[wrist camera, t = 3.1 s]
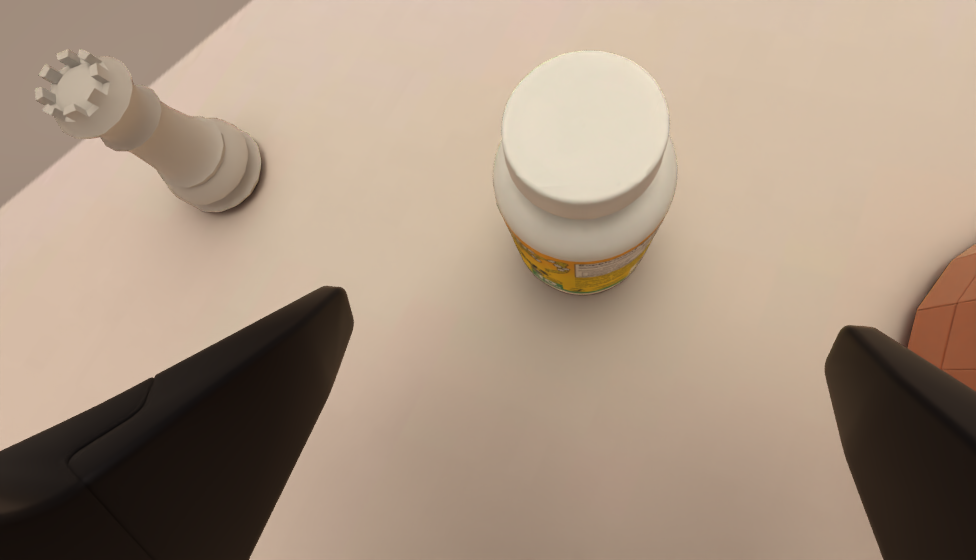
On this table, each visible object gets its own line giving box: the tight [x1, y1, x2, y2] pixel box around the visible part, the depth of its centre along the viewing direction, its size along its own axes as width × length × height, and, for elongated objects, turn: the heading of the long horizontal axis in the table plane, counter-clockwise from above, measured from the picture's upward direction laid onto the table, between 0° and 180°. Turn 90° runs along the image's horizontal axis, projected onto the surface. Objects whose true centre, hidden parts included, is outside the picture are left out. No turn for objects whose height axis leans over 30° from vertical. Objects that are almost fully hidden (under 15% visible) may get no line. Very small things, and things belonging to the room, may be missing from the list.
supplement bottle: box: [493, 50, 678, 295], centre depth 16 cm, size 5×5×10 cm
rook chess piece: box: [35, 49, 261, 212], centre depth 21 cm, size 4×4×8 cm
